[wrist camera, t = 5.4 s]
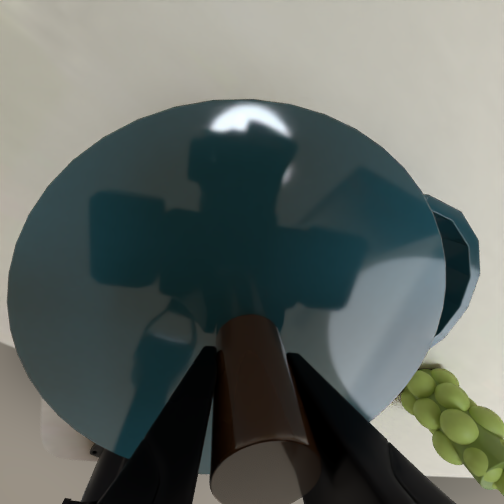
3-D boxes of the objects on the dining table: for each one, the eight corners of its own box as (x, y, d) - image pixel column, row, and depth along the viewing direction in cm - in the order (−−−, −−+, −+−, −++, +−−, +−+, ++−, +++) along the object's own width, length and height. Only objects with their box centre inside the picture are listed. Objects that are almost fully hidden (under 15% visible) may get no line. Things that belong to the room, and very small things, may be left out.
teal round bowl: (336, 356, 26) (361, 399, 21) (238, 273, 21) (243, 304, 16) (451, 264, 23) (509, 289, 19) (369, 147, 19) (419, 141, 14)
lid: (243, 485, 14) (254, 668, 9) (-58, 338, 9) (-430, 567, 4) (481, 310, 11) (685, 426, 6) (250, -34, 6) (358, -808, 1)
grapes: (410, 409, 30) (523, 558, 19) (382, 385, 28) (490, 536, 17) (454, 378, 29) (603, 516, 18) (429, 350, 27) (579, 486, 16)
